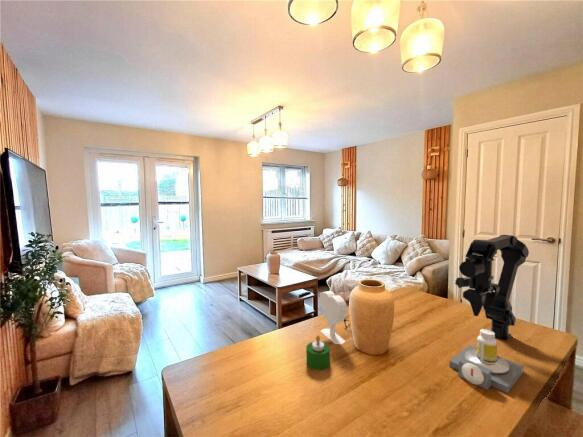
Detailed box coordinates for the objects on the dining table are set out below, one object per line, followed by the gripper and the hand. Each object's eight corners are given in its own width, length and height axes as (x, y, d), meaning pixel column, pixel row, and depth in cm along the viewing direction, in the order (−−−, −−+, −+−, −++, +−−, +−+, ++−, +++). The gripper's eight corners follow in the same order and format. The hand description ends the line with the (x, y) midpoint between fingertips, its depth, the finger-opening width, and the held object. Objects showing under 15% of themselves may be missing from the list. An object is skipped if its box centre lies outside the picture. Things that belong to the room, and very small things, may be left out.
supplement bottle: (500, 362, 88) (501, 333, 88) (489, 366, 86) (491, 337, 86) (483, 353, 93) (484, 326, 93) (472, 357, 91) (473, 329, 91)
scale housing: (469, 350, 101) (469, 334, 101) (523, 371, 88) (524, 354, 88) (444, 370, 90) (444, 353, 89) (502, 398, 77) (503, 379, 76)
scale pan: (473, 348, 98) (473, 346, 98) (514, 364, 89) (514, 362, 88) (458, 360, 91) (458, 358, 91) (501, 379, 82) (501, 376, 81)
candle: (332, 358, 97) (332, 332, 97) (325, 372, 90) (325, 343, 89) (311, 353, 101) (311, 327, 100) (302, 366, 93) (302, 338, 93)
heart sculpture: (348, 343, 107) (348, 299, 106) (337, 346, 105) (337, 301, 104) (328, 326, 121) (327, 287, 120) (318, 329, 119) (317, 289, 118)
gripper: (468, 265, 114) (467, 300, 115) (448, 272, 103) (447, 312, 105) (500, 270, 105) (498, 309, 106) (482, 279, 94) (480, 322, 96)
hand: (480, 312), depth 103 cm, fingers open, 9 cm apart
